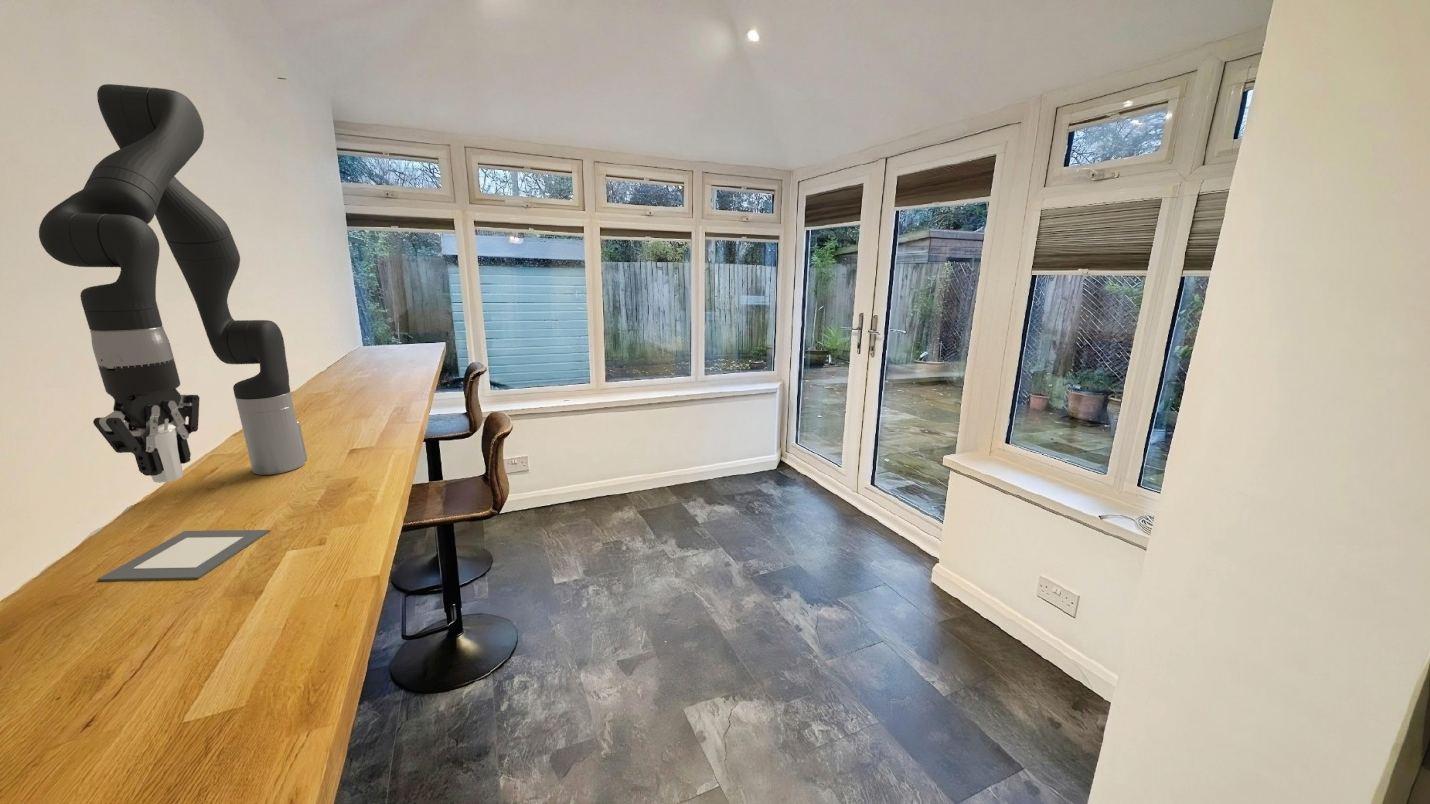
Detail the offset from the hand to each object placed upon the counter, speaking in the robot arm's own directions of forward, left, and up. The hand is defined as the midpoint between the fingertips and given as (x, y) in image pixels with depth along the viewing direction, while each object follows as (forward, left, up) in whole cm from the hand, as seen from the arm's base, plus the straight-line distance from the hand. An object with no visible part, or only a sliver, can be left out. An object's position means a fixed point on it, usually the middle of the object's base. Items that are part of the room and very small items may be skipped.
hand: (167, 468), depth 80 cm
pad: (0, 0, -15) cm, 15 cm away
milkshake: (0, 0, -2) cm, 2 cm away
